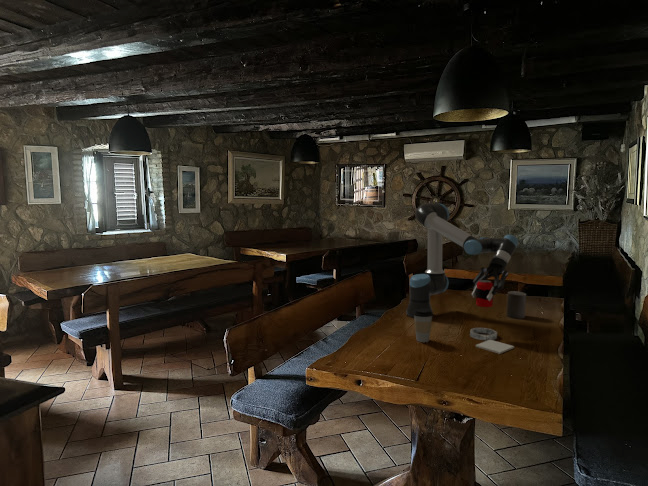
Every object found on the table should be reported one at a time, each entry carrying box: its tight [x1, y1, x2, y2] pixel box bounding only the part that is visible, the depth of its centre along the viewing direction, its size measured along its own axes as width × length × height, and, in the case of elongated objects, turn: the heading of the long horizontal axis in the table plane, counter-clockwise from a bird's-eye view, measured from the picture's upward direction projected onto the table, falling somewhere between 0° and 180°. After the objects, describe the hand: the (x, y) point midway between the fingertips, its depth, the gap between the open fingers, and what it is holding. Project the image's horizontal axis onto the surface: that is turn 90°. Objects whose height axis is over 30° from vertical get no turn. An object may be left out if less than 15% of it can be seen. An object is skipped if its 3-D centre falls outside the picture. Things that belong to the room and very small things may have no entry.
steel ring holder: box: [469, 327, 498, 341], centre depth 213 cm, size 12×12×2 cm
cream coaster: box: [475, 340, 515, 355], centre depth 198 cm, size 12×12×1 cm
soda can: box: [475, 279, 494, 308], centre depth 211 cm, size 8×8×12 cm
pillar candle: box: [506, 290, 527, 320], centre depth 247 cm, size 10×10×15 cm
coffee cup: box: [413, 308, 434, 344], centre depth 207 cm, size 9×9×15 cm
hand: (480, 297), depth 209 cm, fingers closed on soda can, 7 cm apart
